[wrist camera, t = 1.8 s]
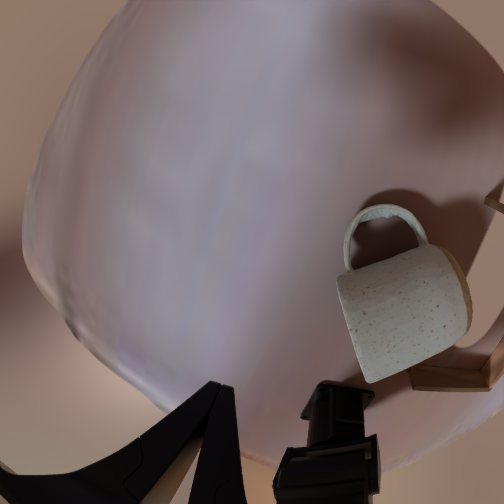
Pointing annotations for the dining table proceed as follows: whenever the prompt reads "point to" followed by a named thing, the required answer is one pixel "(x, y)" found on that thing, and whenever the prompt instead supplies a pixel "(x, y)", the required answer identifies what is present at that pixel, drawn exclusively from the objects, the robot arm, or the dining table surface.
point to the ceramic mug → (403, 301)
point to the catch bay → (461, 378)
